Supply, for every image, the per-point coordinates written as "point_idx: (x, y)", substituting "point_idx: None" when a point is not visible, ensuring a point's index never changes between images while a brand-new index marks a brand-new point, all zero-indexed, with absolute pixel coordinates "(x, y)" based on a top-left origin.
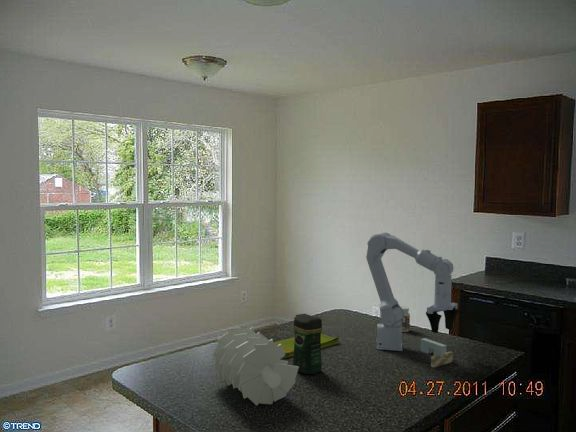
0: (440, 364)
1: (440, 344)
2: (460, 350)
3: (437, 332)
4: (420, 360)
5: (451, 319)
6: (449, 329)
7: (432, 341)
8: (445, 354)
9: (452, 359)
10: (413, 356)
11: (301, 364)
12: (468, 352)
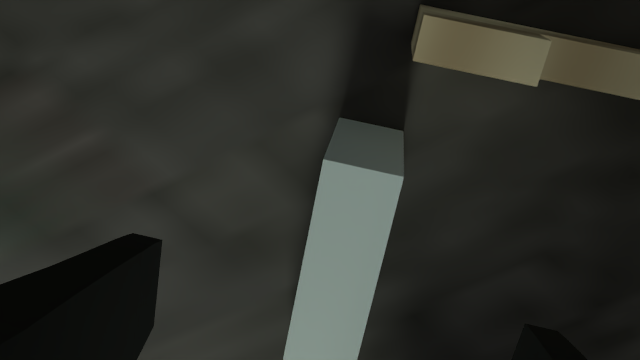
0: (633, 48)
1: (346, 229)
2: (25, 109)
3: (536, 328)
4: (610, 261)
5: (41, 350)
6: (160, 256)
7: (311, 340)
8: (543, 58)
9: (420, 7)
10: None
11: None
12: (6, 21)
